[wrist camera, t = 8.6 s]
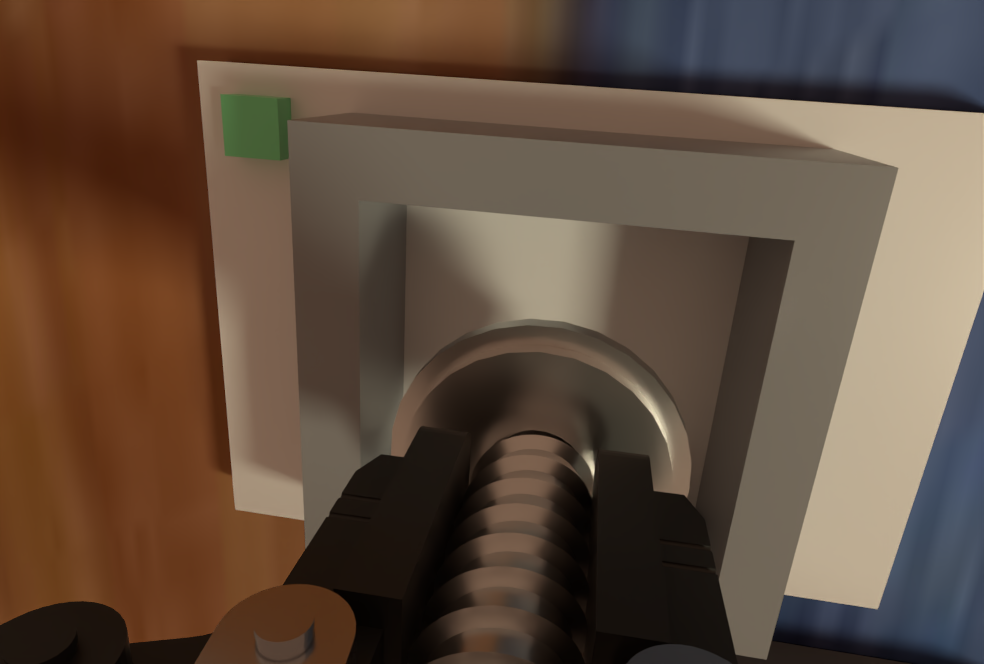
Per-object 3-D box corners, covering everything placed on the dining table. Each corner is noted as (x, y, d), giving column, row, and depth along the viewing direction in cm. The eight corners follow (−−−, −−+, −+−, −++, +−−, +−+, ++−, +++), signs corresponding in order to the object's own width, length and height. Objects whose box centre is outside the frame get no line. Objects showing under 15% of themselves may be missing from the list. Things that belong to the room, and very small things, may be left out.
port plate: (1004, 114, 13) (1172, 128, 9) (859, 574, 17) (935, 720, 13) (227, 62, 15) (95, 54, 11) (256, 484, 19) (166, 588, 15)
